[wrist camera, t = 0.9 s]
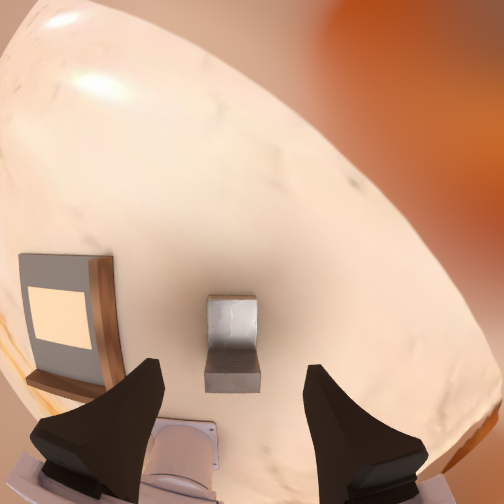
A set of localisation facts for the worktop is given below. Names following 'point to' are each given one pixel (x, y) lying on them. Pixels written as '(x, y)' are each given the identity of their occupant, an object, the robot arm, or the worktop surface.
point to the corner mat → (60, 315)
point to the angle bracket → (232, 345)
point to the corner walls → (105, 341)
